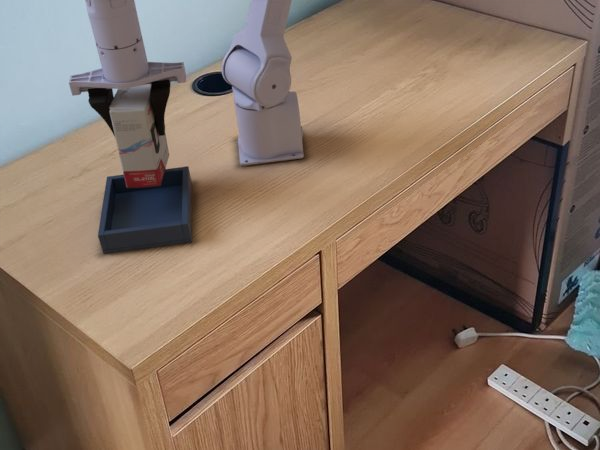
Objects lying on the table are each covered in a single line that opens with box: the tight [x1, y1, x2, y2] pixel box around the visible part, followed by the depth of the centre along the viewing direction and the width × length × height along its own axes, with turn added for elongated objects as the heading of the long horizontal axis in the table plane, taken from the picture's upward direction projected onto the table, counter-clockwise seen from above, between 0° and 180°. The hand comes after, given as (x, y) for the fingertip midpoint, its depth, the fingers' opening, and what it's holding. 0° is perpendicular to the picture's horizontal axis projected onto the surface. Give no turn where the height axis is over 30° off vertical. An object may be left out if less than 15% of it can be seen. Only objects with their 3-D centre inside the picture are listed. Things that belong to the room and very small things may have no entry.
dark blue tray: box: [97, 166, 193, 255], centre depth 107 cm, size 12×14×3 cm
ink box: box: [109, 84, 170, 188], centre depth 106 cm, size 9×5×12 cm, turn 179°
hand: (141, 134), depth 106 cm, fingers closed on ink box, 5 cm apart
